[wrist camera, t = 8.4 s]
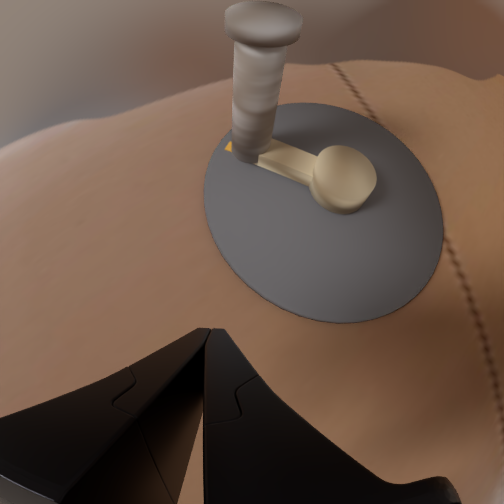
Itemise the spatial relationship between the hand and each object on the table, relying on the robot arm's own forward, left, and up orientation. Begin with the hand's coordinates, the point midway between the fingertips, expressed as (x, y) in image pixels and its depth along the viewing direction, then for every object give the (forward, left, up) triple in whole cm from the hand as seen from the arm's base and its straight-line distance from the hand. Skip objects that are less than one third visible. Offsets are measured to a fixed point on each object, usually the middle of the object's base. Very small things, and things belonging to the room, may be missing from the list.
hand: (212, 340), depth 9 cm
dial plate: (+8, -14, -12) cm, 20 cm away
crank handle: (+11, -11, -11) cm, 20 cm away
